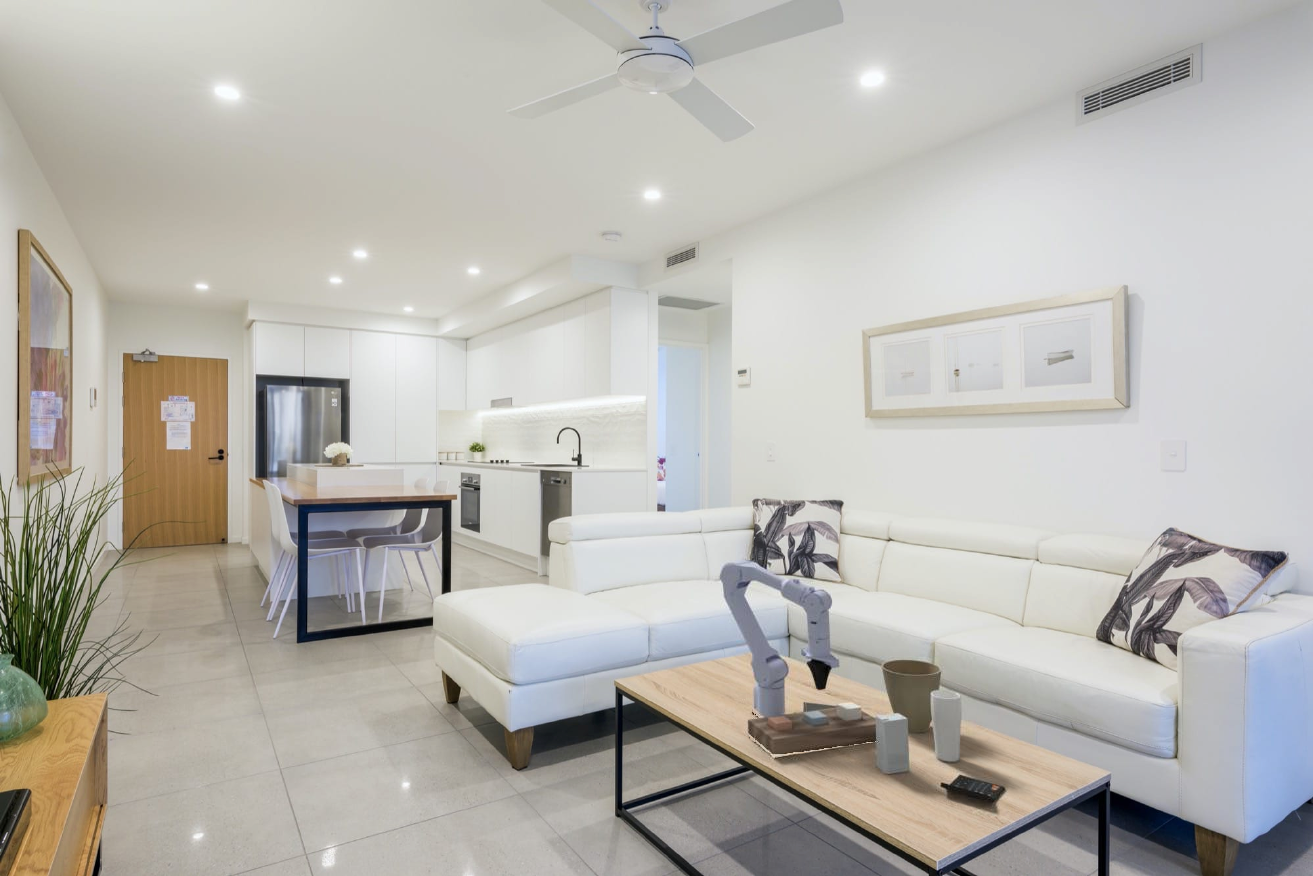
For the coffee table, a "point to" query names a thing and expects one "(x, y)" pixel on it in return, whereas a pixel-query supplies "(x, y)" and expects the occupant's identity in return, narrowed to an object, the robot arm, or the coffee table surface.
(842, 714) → the ivory key
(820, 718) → the slate key
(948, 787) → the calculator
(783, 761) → the coffee table surface
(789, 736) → the board
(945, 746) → the drinking glass
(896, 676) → the plant pot
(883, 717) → the skincare box
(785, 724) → the pink cube
